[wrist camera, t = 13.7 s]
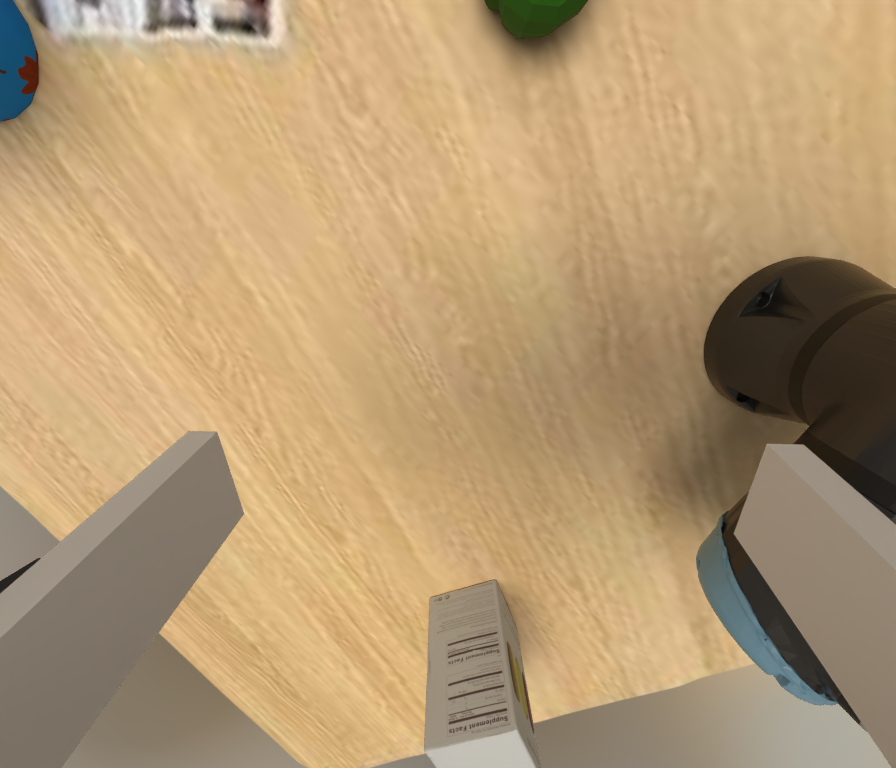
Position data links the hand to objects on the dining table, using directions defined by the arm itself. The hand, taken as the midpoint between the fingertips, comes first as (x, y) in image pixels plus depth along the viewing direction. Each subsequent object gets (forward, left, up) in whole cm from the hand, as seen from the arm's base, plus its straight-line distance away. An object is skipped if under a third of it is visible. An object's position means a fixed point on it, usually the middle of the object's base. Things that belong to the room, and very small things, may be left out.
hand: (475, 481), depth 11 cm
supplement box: (+1, +43, -31) cm, 52 cm away
